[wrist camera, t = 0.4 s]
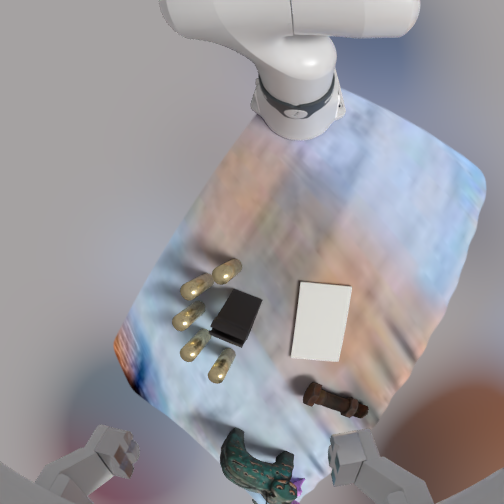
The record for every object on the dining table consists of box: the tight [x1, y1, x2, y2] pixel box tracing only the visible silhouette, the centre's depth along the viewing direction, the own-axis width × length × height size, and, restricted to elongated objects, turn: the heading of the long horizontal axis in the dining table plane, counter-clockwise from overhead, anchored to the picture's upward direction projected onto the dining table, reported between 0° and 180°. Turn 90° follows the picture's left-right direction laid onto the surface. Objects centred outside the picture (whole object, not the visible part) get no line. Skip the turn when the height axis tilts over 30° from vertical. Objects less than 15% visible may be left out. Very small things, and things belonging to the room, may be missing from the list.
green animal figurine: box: [220, 428, 297, 504], centre depth 50 cm, size 20×6×20 cm, turn 58°
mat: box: [291, 281, 352, 362], centre depth 54 cm, size 16×10×1 cm, turn 175°
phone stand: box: [208, 289, 262, 348], centre depth 51 cm, size 9×6×12 cm, turn 160°
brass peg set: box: [172, 259, 242, 383], centre depth 53 cm, size 22×10×10 cm, turn 175°
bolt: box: [303, 382, 369, 418], centre depth 53 cm, size 6×5×15 cm
